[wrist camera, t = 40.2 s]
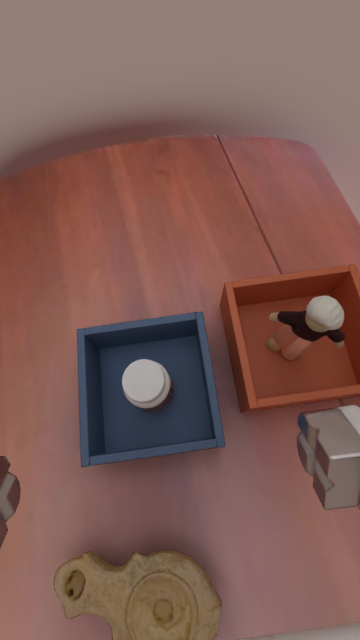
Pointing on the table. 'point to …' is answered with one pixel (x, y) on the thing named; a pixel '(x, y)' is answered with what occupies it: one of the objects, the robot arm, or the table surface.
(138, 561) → the oil lamp
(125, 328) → the slate bin
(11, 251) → the table surface
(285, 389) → the terracotta bin
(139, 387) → the pill bottle
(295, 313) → the grandmother figurine
